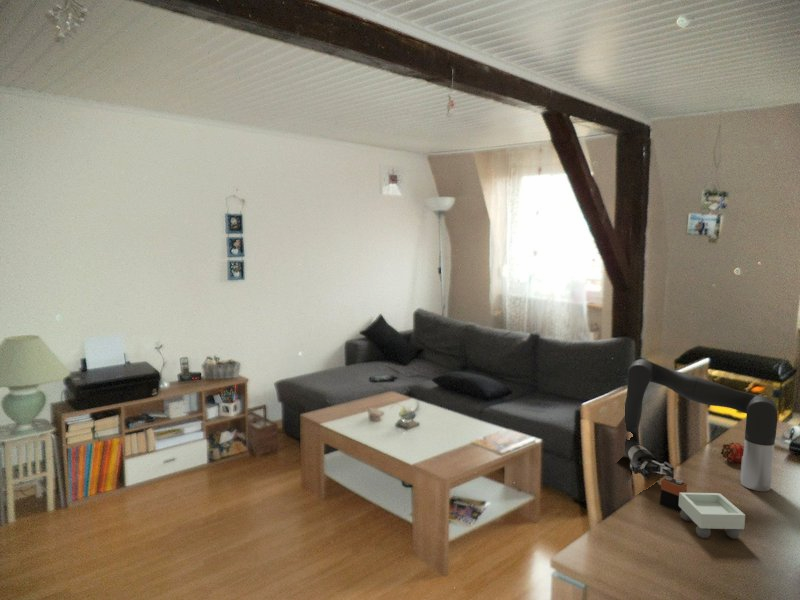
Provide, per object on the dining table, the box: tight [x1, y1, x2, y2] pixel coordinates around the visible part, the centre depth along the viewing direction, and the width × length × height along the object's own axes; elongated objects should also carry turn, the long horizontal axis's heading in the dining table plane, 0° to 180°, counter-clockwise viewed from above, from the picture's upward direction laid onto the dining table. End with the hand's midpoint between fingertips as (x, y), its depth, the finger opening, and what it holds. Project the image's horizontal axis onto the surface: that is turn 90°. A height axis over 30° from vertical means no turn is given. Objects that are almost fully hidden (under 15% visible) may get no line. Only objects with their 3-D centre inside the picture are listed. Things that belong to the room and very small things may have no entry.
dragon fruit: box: [720, 442, 744, 464], centre depth 226 cm, size 8×8×12 cm
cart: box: [678, 492, 746, 540], centre depth 174 cm, size 14×13×8 cm
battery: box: [659, 475, 688, 513], centre depth 188 cm, size 4×7×10 cm, turn 38°
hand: (660, 476), depth 198 cm, fingers open, 8 cm apart
